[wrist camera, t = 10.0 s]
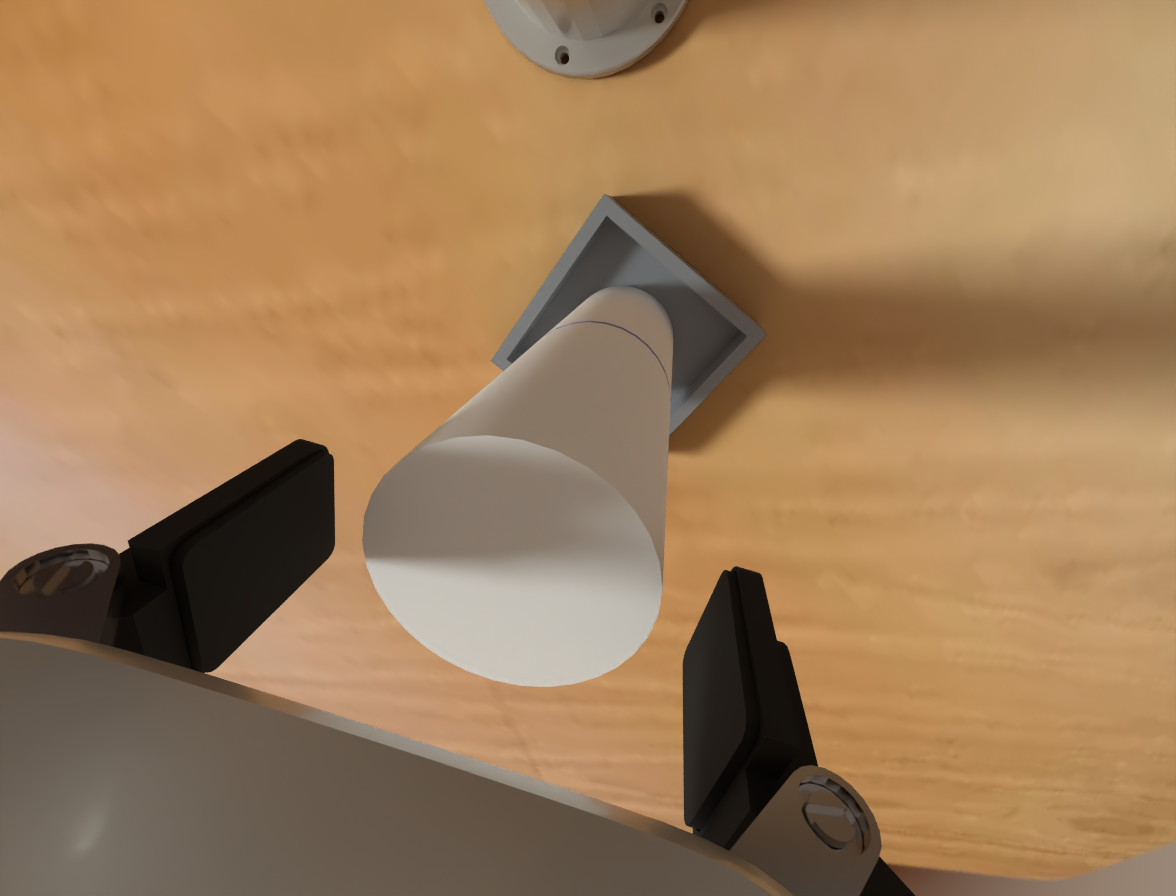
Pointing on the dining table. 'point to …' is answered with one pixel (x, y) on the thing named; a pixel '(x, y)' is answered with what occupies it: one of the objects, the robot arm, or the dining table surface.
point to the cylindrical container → (539, 505)
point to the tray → (642, 260)
